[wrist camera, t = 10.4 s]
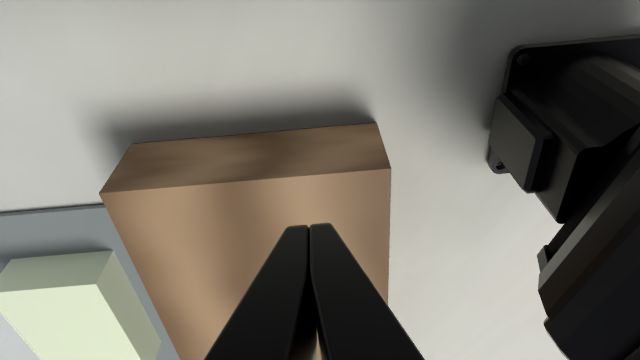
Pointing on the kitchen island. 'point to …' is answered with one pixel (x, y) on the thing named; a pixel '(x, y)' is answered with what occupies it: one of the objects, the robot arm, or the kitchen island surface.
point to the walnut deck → (243, 215)
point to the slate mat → (75, 247)
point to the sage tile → (77, 308)
